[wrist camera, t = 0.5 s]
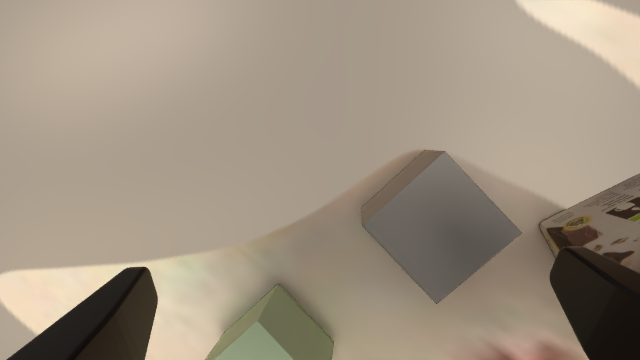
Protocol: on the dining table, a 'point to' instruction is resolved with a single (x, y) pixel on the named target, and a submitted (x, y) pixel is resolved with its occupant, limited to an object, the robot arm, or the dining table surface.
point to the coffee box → (601, 224)
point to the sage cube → (274, 333)
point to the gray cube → (437, 223)
